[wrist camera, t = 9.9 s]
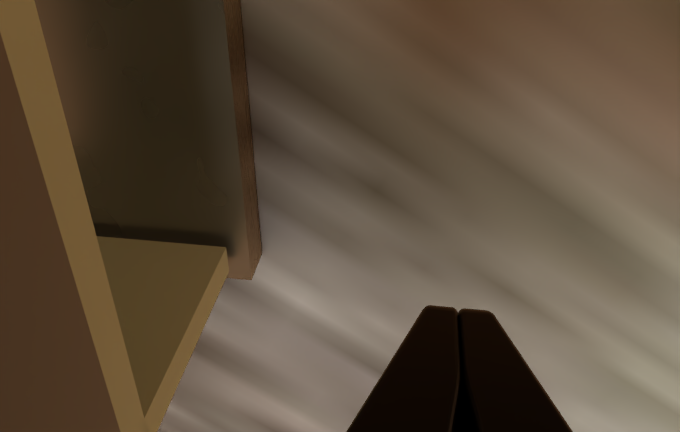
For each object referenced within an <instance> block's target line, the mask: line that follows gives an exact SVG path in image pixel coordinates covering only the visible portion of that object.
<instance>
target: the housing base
mask: <svg viewBox="0 0 680 432" xmlns="http://www.w3.org/2000/svg"><path fill="white" fill-rule="evenodd" d="M34 1H35V5H36V9H37V12H38V16H39V20H40V24H41V28H42V31H43V35H44V39H45V43H46V47H47V50H48V54H49V58H50V62H51V66H52V69H53V73H54V77H55V81H56V85H57V88H58V92H59V96H60V100H61V104H62V107H63V111H64V115H65V119H66V122H67V126H68V130H69V134H70V138H71V141H72V145H73V149H74V153H75V157H76V160H77V164H78V168H79V172H80V176H81V179H82V183H83V187H84V191H85V195H86V198H87V202H88V206H89V210H90V214H91V217H92V221H93V225H94V229H95V233H96V236H100V237H112V238H124V239H135V240H147V241H159V242H171V243H182V244H194V245H206V246H218V247H226V250H227V258H228V266H229V273H228V275H227V277H226V278H235V279H246V280H252V278H253V275H254V273H255V270H256V268H257V265H258V263H259V260H260V257H261V255H262V249H261V237H260V226H259V214H258V203H257V191H256V180H255V168H254V156H253V145H252V133H251V122H250V110H249V99H248V87H247V76H246V64H245V53H244V41H243V30H242V18H241V7H240V0H34Z"/></svg>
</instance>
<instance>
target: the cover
mask: <svg viewBox="0 0 680 432" xmlns="http://www.w3.org/2000/svg"><path fill="white" fill-rule="evenodd" d="M228 273H229V266H228V258H227V250H226V247H218V246H206V245H194V244H182V243H171V242H159V241H147V240H135V239H124V238H112V237H100V236H96V233H95V229H94V225H93V221H92V217H91V214H90V210H89V206H88V202H87V198H86V195H85V191H84V187H83V183H82V179H81V176H80V172H79V168H78V164H77V160H76V157H75V153H74V149H73V145H72V141H71V138H70V134H69V130H68V126H67V122H66V119H65V115H64V111H63V107H62V104H61V100H60V96H59V92H58V88H57V85H56V81H55V77H54V73H53V69H52V66H51V62H50V58H49V54H48V50H47V47H46V43H45V39H44V35H43V31H42V28H41V24H40V20H39V16H38V12H37V9H36V5H35V1H34V0H0V432H157V431H158V428H159V426H160V424H161V422H162V420H163V417H164V415H165V413H166V411H167V408H168V406H169V404H170V402H171V400H172V397H173V395H174V393H175V391H176V388H177V386H178V384H179V382H180V379H181V377H182V375H183V373H184V371H185V368H186V366H187V364H188V362H189V359H190V357H191V355H192V353H193V351H194V348H195V346H196V344H197V342H198V339H199V337H200V335H201V333H202V330H203V328H204V326H205V324H206V322H207V319H208V317H209V315H210V313H211V310H212V308H213V306H214V304H215V302H216V299H217V297H218V295H219V293H220V290H221V288H222V286H223V284H224V281H225V279H226V277H227V275H228Z"/></svg>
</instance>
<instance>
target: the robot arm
mask: <svg viewBox="0 0 680 432" xmlns="http://www.w3.org/2000/svg"><path fill="white" fill-rule="evenodd" d="M347 432H573V431H572V430H571V429H570V427H569V426H568V424H567V423H566V421H565V420H564V418H563V417H562V415H561V414H560V412H559V411H558V409H557V408H556V406H555V405H554V403H553V402H552V400H551V399H550V397H549V396H548V394H547V393H546V391H545V390H544V388H543V387H542V385H541V384H540V383H539V381H538V380H537V378H536V377H535V375H534V374H533V372H532V371H531V369H530V368H529V366H528V365H527V363H526V362H525V360H524V359H523V357H522V356H521V354H520V353H519V351H518V350H517V348H516V347H515V345H514V344H513V342H512V341H511V339H510V338H509V337H508V335H507V334H506V332H505V331H504V329H503V328H502V326H501V325H500V323H499V322H498V320H497V319H496V317H495V316H494V314H493V313H491V312H490V311H486V310H475V309H461V310H460V311H459V312H457V310H456V309H455V308H453V307H443V306H432V305H429V306H426V307H425V308H424V309H423V310H422V312H421V313H420V315H419V317H418V318H417V320H416V321H415V323H414V325H413V326H412V328H411V329H410V331H409V332H408V334H407V336H406V337H405V339H404V340H403V342H402V344H401V345H400V347H399V348H398V350H397V352H396V353H395V355H394V356H393V358H392V360H391V361H390V363H389V364H388V366H387V368H386V369H385V371H384V372H383V374H382V376H381V377H380V379H379V380H378V382H377V384H376V385H375V387H374V388H373V390H372V392H371V393H370V395H369V396H368V398H367V400H366V401H365V403H364V404H363V406H362V408H361V409H360V411H359V412H358V414H357V416H356V417H355V419H354V420H353V422H352V424H351V425H350V427H349V428H348V430H347Z"/></svg>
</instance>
